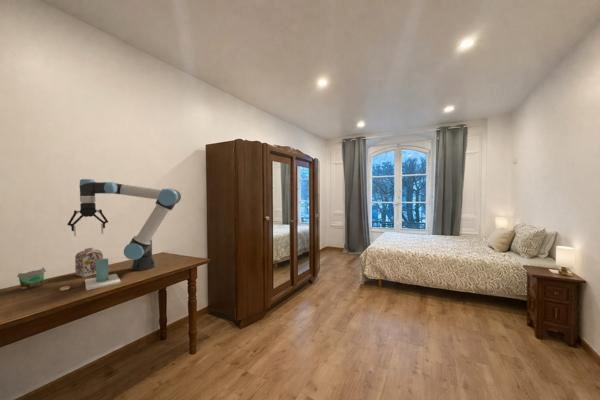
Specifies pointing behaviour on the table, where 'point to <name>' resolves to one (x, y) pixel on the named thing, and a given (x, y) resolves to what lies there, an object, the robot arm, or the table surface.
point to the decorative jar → (87, 262)
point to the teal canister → (102, 270)
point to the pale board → (93, 284)
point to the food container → (31, 279)
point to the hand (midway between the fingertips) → (89, 234)
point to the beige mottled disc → (64, 288)
